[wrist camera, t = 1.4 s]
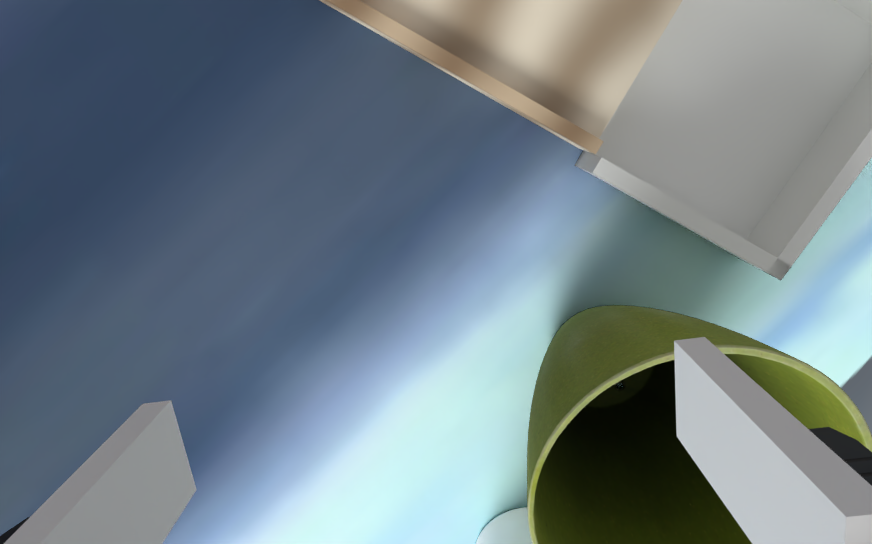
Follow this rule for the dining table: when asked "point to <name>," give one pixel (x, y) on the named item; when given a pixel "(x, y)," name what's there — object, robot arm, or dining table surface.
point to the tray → (747, 123)
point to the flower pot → (645, 429)
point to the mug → (507, 529)
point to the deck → (530, 51)
